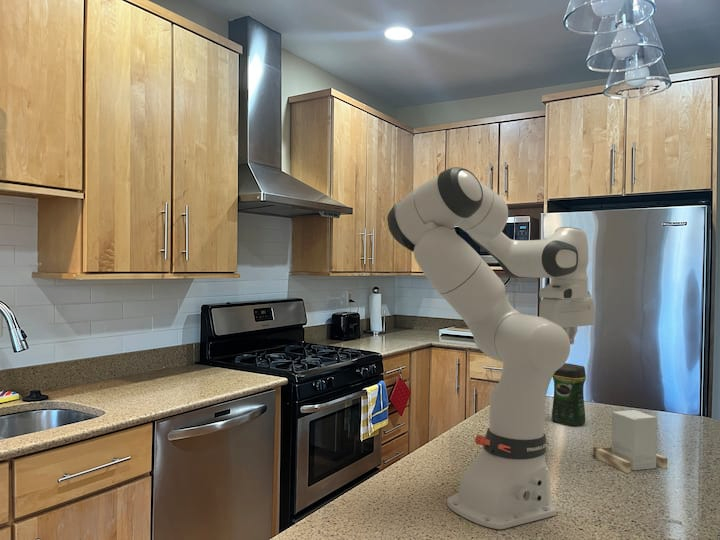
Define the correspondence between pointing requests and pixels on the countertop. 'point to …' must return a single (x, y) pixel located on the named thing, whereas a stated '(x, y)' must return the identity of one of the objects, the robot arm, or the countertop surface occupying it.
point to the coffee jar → (569, 395)
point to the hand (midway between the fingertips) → (567, 344)
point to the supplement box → (635, 438)
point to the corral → (606, 456)
